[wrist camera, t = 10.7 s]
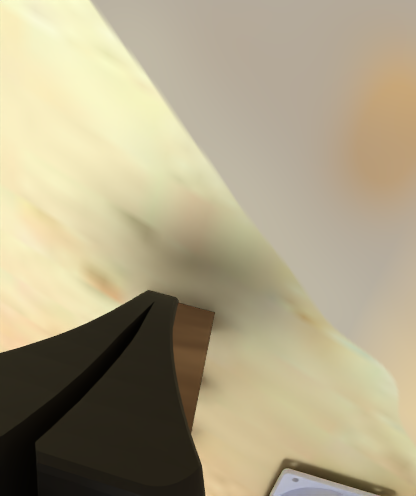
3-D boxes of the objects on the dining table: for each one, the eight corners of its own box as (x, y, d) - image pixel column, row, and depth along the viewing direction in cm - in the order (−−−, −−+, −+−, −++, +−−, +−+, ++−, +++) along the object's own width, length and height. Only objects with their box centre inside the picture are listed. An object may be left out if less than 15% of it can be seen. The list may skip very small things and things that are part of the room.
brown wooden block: (144, 293, 17) (67, 396, 10) (214, 312, 17) (190, 433, 9) (142, 312, 18) (66, 423, 10) (209, 331, 17) (183, 459, 10)
